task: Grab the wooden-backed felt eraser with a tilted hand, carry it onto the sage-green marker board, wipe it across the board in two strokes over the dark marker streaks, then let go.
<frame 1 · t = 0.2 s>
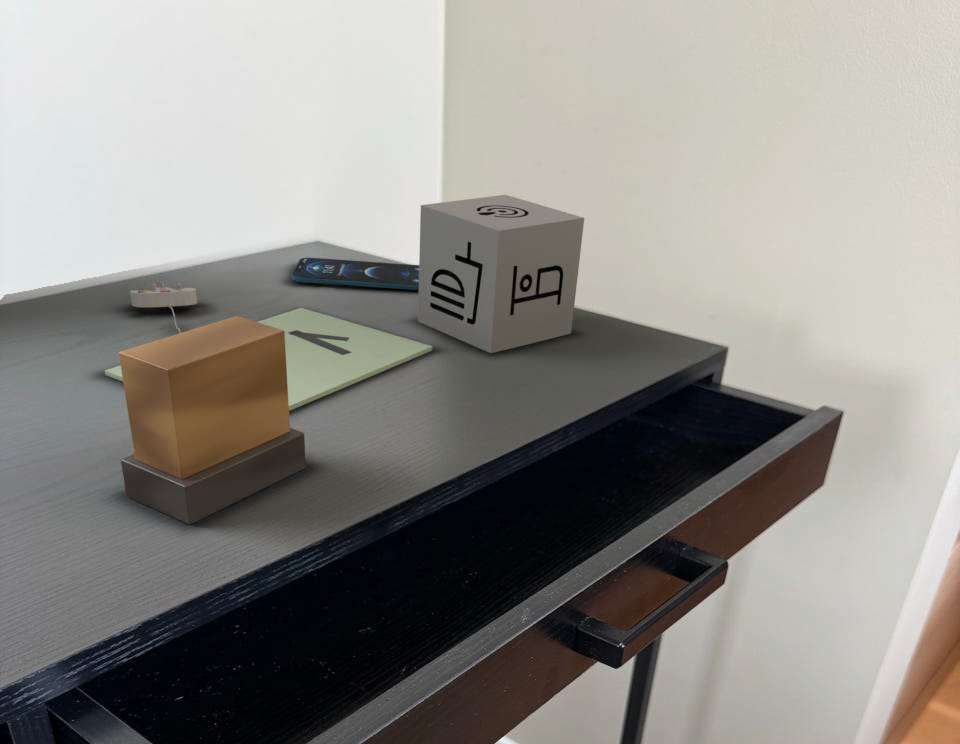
game controller: (168, 322, 85), on the table
eraser: (219, 482, 61), on the table
marker board: (278, 362, 79), on the table
icon cube: (494, 329, 89), on the table
smartphone: (369, 279, 100), on the table
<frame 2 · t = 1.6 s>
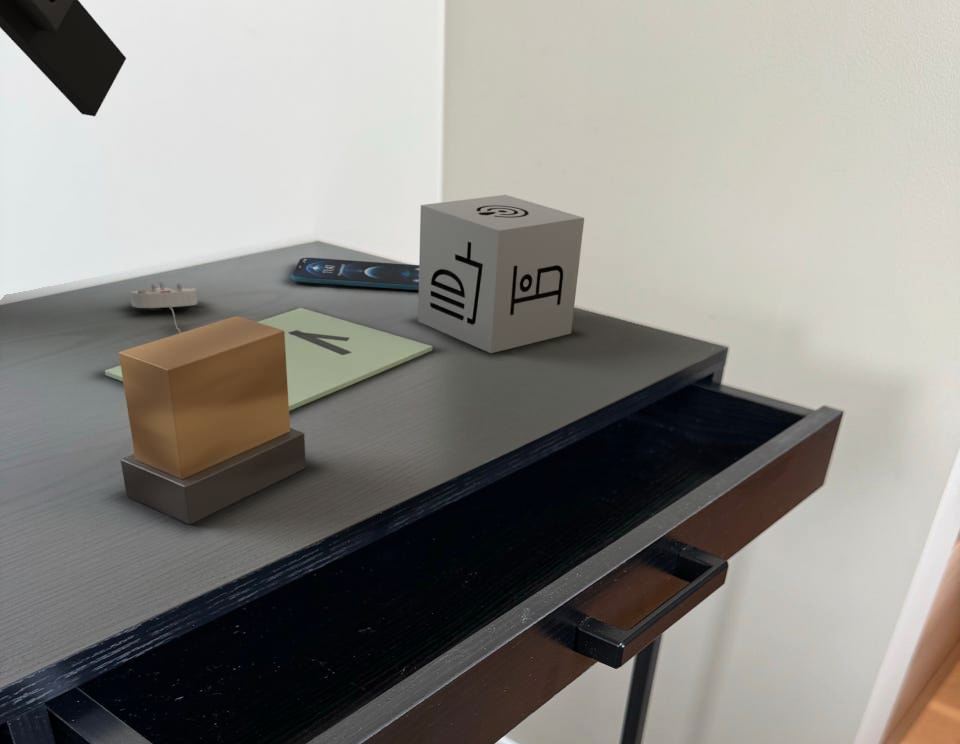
nothing on the table moved.
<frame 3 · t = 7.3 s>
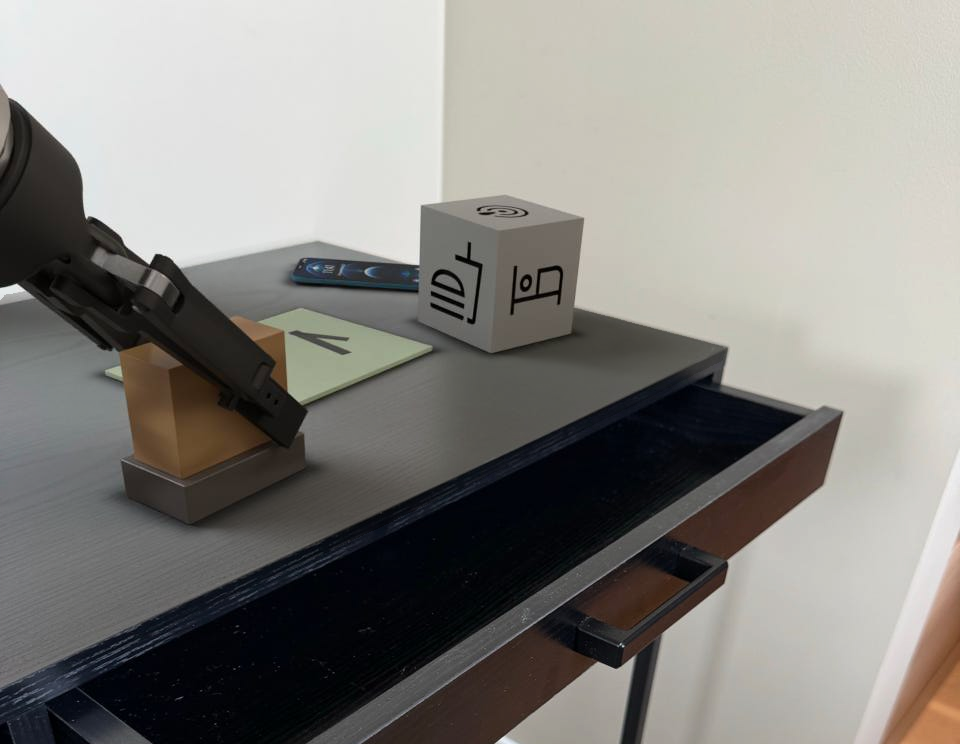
hand: (257, 414, 62), 3 cm above the table, tool tilted 45°, fingers closed on eraser, 5 cm apart
eraser: (219, 482, 61), on the table, touching gripper
everything else where it was.
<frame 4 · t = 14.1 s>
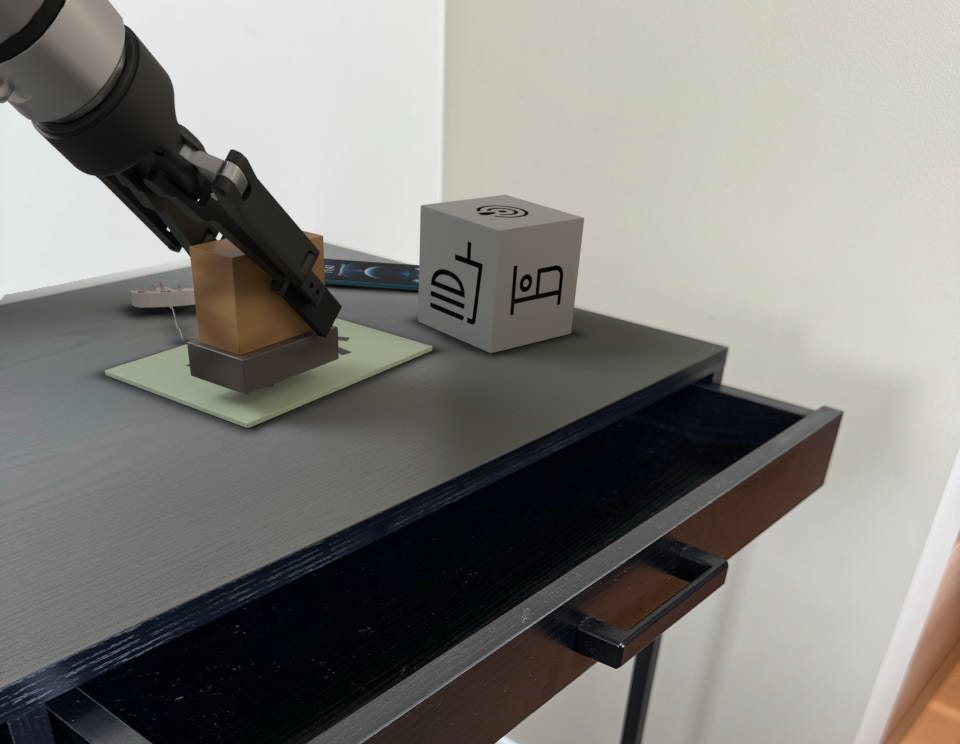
hand: (298, 311, 73), 5 cm above the table, tool tilted 45°, fingers closed on eraser, 5 cm apart
eraser: (267, 367, 73), point 2 cm above the table, touching gripper
everything else where it was.
when the fingers open (3 cm above the table, at t = 20.9 s): eraser stays where it is, resting on marker board.
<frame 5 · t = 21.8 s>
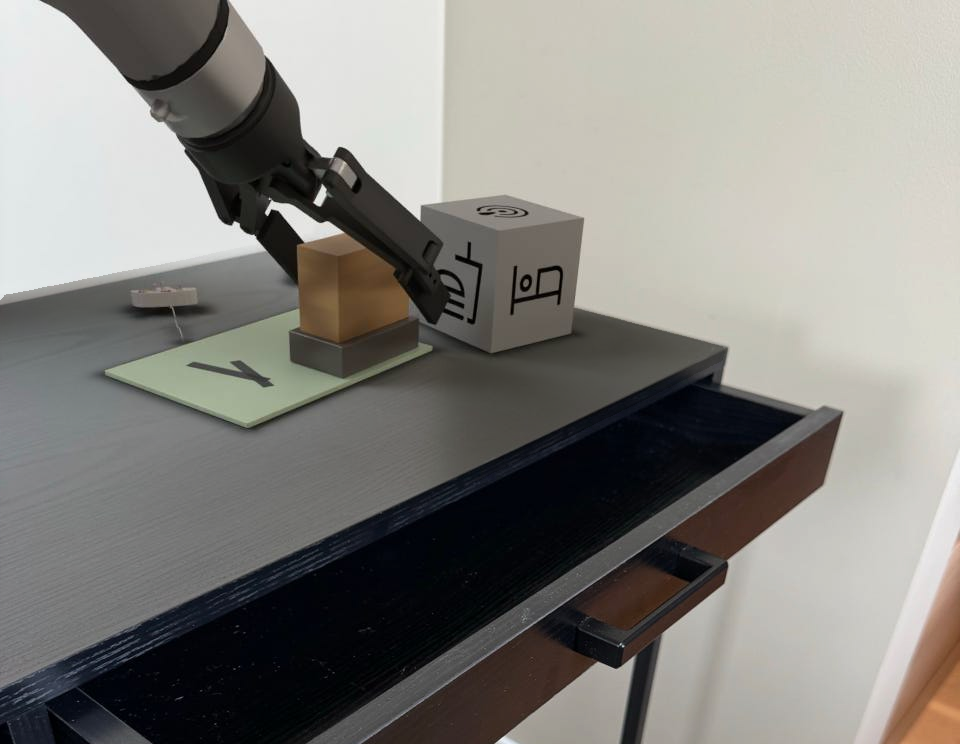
hand: (372, 291, 79), 5 cm above the table, tool tilted 45°, fingers open, 13 cm apart
eraser: (356, 354, 80), resting on marker board
everything else where it was.
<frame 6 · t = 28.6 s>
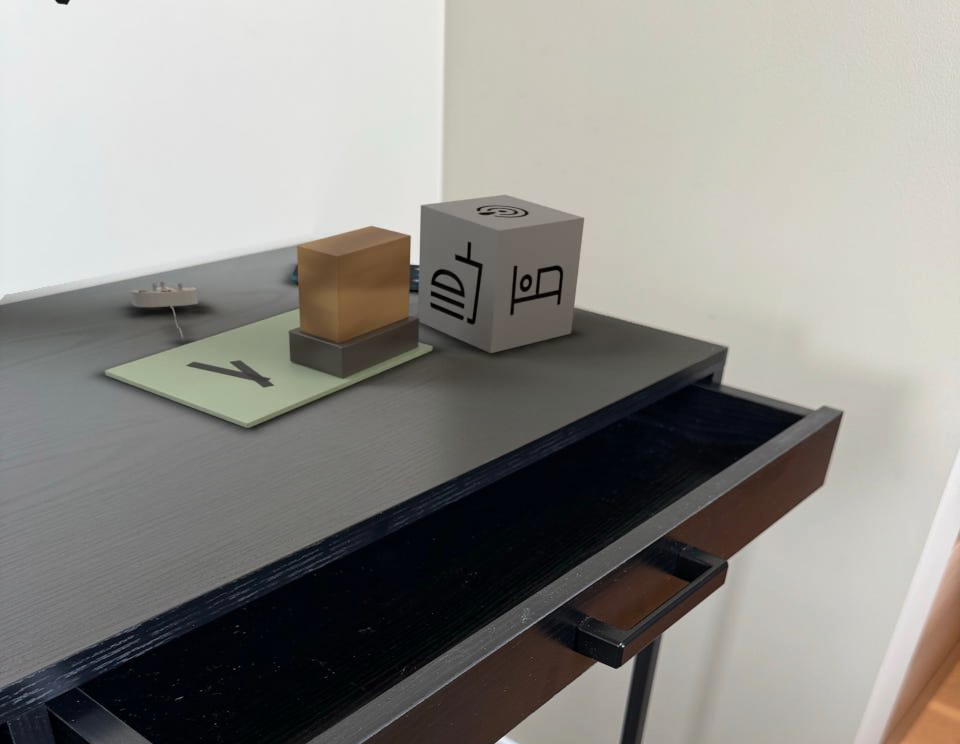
nothing on the table moved.
at the end: eraser inside the target area on the marker board (4.1 cm from its centre), point 0.4 cm above the marker board's base; eraser moved 24.2 cm from its start; eraser tilted 1° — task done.
